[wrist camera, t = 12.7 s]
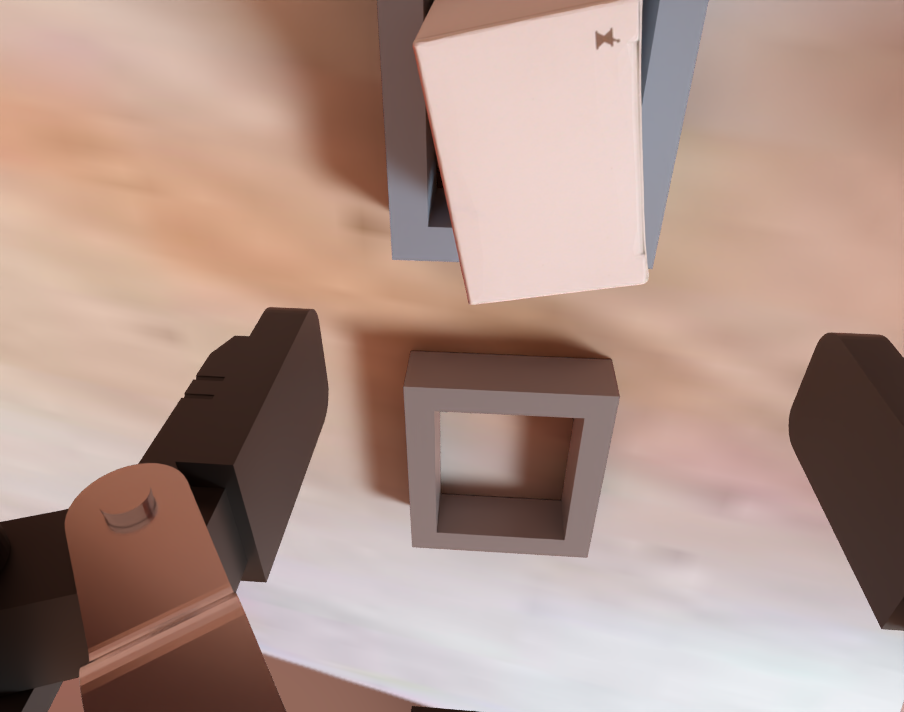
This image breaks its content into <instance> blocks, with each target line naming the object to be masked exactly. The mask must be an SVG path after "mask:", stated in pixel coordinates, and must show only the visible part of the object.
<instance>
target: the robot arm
mask: <svg viewBox="0 0 904 712" xmlns="http://www.w3.org/2000/svg"><path fill="white" fill-rule="evenodd" d="M327 406H328V380H327V373H326V366H325V359H324V352H323V345H322V339H321V332H320V325H319V319H318V315H317V313H316V311H315V310H314V309H300V308H277V307H269V308H267V309H266V310H265V311H264V313H263V314H262V316H261V318H260V319H259V321H258V323H257V324H256V326H255V328H254V329H253V331H252V333H251V334H250V336H234V337H233V338H231V339H230V340H229V341H227V342H226V343H224V344H223V345H222V346H220V347H219V348H218V349H216V350H215V351H213V352H212V353H211V354H210V355H209V357H208V358H207V360H206V361H205V363H204V364H203V366H202V367H201V369H200V370H199V372H198V373H197V375H196V380H193V381H192V383H191V384H190V386H189V387H188V389H187V390H186V392H185V397H184V398H181V399H180V401H179V402H178V404H177V406H176V407H175V409H174V410H173V412H172V413H171V415H170V416H169V418H168V419H167V421H166V422H165V424H164V425H163V427H162V428H161V430H160V431H159V433H158V435H157V436H156V438H155V439H154V441H153V442H152V444H151V445H150V447H149V448H148V450H147V451H146V453H145V454H144V456H143V457H142V459H141V461H140V462H139V464H136V465H131V466H127V467H123V468H120V469H117V470H115V471H113V472H110V473H108V474H106V475H104V476H102V477H101V478H99V479H97V480H96V481H94V482H93V483H91V484H90V485H89V486H88V487H86V488H85V489H84V490H83V491H82V492H81V493H80V494H79V495H78V496H77V497H76V498H75V500H74V501H73V503H72V504H71V506H70V507H69V509H65V510H61V511H56V512H51V513H46V514H40V515H35V516H30V517H24V518H19V519H14V520H9V521H3V522H0V712H48V710H49V708H50V706H51V704H52V702H53V700H54V698H55V696H56V694H57V692H58V690H59V688H60V686H61V684H62V682H63V681H66V680H70V679H74V678H78V677H79V683H80V691H81V697H82V703H83V709H84V712H286V709H285V707H284V705H283V702H282V700H281V698H280V695H279V693H278V691H277V688H276V686H275V683H274V681H273V678H272V676H271V674H270V671H269V669H268V667H267V664H266V662H265V659H264V657H263V655H262V652H261V650H260V647H259V645H258V643H257V640H256V638H255V635H254V633H253V631H252V628H251V626H250V624H249V621H248V619H247V616H246V614H245V612H244V609H243V607H242V605H241V602H240V600H239V598H238V596H237V594H236V591H237V588H238V585H239V583H240V581H254V582H267V579H268V576H269V574H270V571H271V568H272V565H273V562H274V560H275V557H276V554H277V551H278V549H279V546H280V543H281V540H282V537H283V535H284V532H285V529H286V526H287V524H288V521H289V518H290V515H291V512H292V510H293V507H294V504H295V501H296V499H297V496H298V493H299V490H300V487H301V485H302V482H303V479H304V476H305V474H306V471H307V468H308V465H309V462H310V460H311V457H312V454H313V451H314V449H315V446H316V443H317V440H318V437H319V435H320V432H321V429H322V426H323V423H324V421H325V417H326V413H327ZM789 436H790V441H791V445H792V447H793V449H794V451H795V453H796V455H797V458H798V460H799V462H800V464H801V466H802V468H803V470H804V472H805V474H806V476H807V478H808V480H809V482H810V484H811V486H812V488H813V490H814V492H815V494H816V496H817V498H818V500H819V502H820V505H821V507H822V509H823V511H824V513H825V515H826V517H827V519H828V521H829V523H830V525H831V527H832V529H833V531H834V533H835V535H836V537H837V539H838V541H839V543H840V545H841V547H842V549H843V551H844V554H845V556H846V558H847V560H848V562H849V564H850V566H851V568H852V570H853V572H854V574H855V576H856V578H857V580H858V582H859V584H860V586H861V588H862V590H863V592H864V594H865V596H866V598H867V600H868V603H869V605H870V607H871V609H872V611H873V613H874V615H875V617H876V619H877V621H878V623H879V625H880V627H881V629H888V630H902V631H904V358H903V357H902V355H901V354H900V353H899V352H898V351H897V349H896V348H895V347H894V346H893V344H892V343H891V342H890V341H889V340H888V339H887V338H886V337H885V336H883V335H876V334H853V333H827V334H825V335H824V336H822V338H821V339H820V340H819V342H818V344H817V346H816V348H815V350H814V353H813V355H812V358H811V360H810V363H809V365H808V368H807V370H806V373H805V375H804V378H803V380H802V383H801V385H800V388H799V390H798V393H797V395H796V398H795V400H794V402H793V405H792V408H791V411H790V416H789ZM411 712H477V711H465V710H453V709H441V708H429V707H417V706H416V707H415V706H412V709H411ZM901 712H904V702H903V705H902V709H901Z"/></svg>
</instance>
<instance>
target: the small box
mask: <svg viewBox="0 0 904 712" xmlns="http://www.w3.org/2000/svg"><path fill="white" fill-rule="evenodd" d="M642 5H643V0H434V2H433V4H432V6H431V8H430V10H429V12H428V14H427V16H426V18H425V20H424V22H423V24H422V26H421V28H420V30H419V32H418V34H417V36H416V38H415V40H414V42H413V50H414V54H415V59H416V63H417V68H418V73H419V77H420V82H421V86H422V91H423V95H424V100H425V105H426V109H427V114H428V119H429V123H430V128H431V133H432V137H433V142H434V146H435V151H436V156H437V160H438V165H439V170H440V174H441V178H442V183H443V188H444V192H445V197H446V202H447V206H448V211H449V215H450V220H451V224H452V229H453V234H454V238H455V243H456V247H457V252H458V257H459V261H460V266H461V271H462V275H463V279H464V284H465V288H466V293H467V298H468V303H469V304H470V305H475V304H482V303H492V302H501V301H509V300H517V299H524V298H532V297H540V296H549V295H556V294H565V293H573V292H581V291H589V290H598V289H606V288H615V287H623V286H632V285H641V284H645V283H646V282H647V281H648V277H649V274H648V265H647V254H646V242H645V219H644V183H643V151H642V103H641V39H642Z"/></svg>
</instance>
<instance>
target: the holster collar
mask: <svg viewBox="0 0 904 712" xmlns="http://www.w3.org/2000/svg"><path fill="white" fill-rule="evenodd" d="M403 389H404V407H405V425H406V443H407V461H408V480H409V498H410V516H411V534H412V547H419V548H435V549H452V550H468V551H485V552H502V553H518V554H535V555H551V556H568V557H585V558H587V557H588V552H589V547H590V542H591V537H592V532H593V527H594V522H595V517H596V512H597V507H598V502H599V497H600V492H601V488H602V483H603V478H604V473H605V468H606V463H607V458H608V453H609V448H610V443H611V438H612V433H613V428H614V423H615V418H616V413H617V408H618V404H619V399H620V395H619V390H618V385H617V381H616V376H615V371H614V367H613V362H612V360H611V359H588V358H565V357H542V356H519V355H495V354H472V353H449V352H426V351H411V352H410V357H409V362H408V367H407V372H406V376H405V381H404V386H403ZM440 411H442V412H462V413H483V414H504V415H524V416H545V417H566V418H574V420H573V426H572V433H571V440H570V446H569V453H568V459H567V466H566V473H565V479H564V486H563V492H562V499H561V501H560V500H542V499H524V498H506V497H488V496H470V495H452V494H441V461H440Z"/></svg>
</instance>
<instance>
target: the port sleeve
mask: <svg viewBox="0 0 904 712" xmlns="http://www.w3.org/2000/svg"><path fill="white" fill-rule="evenodd" d="M708 1H709V0H643V5H642V39H641V103H642V151H643V183H644V219H645V242H646V254H647V265H648V269H653V264H654V259H655V254H656V249H657V245H658V240H659V235H660V230H661V225H662V221H663V216H664V211H665V206H666V202H667V197H668V192H669V187H670V182H671V178H672V173H673V168H674V163H675V159H676V154H677V149H678V144H679V139H680V135H681V130H682V125H683V120H684V116H685V111H686V106H687V101H688V96H689V92H690V87H691V82H692V77H693V73H694V68H695V63H696V58H697V53H698V49H699V44H700V39H701V34H702V30H703V25H704V20H705V15H706V10H707V6H708ZM433 2H434V0H377V10H378V27H379V43H380V60H381V77H382V94H383V111H384V128H385V145H386V161H387V178H388V195H389V212H390V229H391V246H392V260H415V261H444V262H460V261H459V257H458V252H457V247H456V243H455V238H454V234H453V229H452V224H451V220H450V215H449V211H448V206H447V202H446V197H445V192H444V188H437V156H436V151H435V146H434V142H433V137H432V133H431V128H430V123H429V119H428V114H427V109H426V105H425V100H424V95H423V91H422V86H421V82H420V77H419V73H418V68H417V63H416V59H415V54H414V50H413V42H414V40H415V38H416V36H417V34H418V32H419V30H420V28H421V26H422V24H423V22H424V20H425V18H426V16H427V14H428V12H429V10H430V8H431V6H432V4H433Z"/></svg>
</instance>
